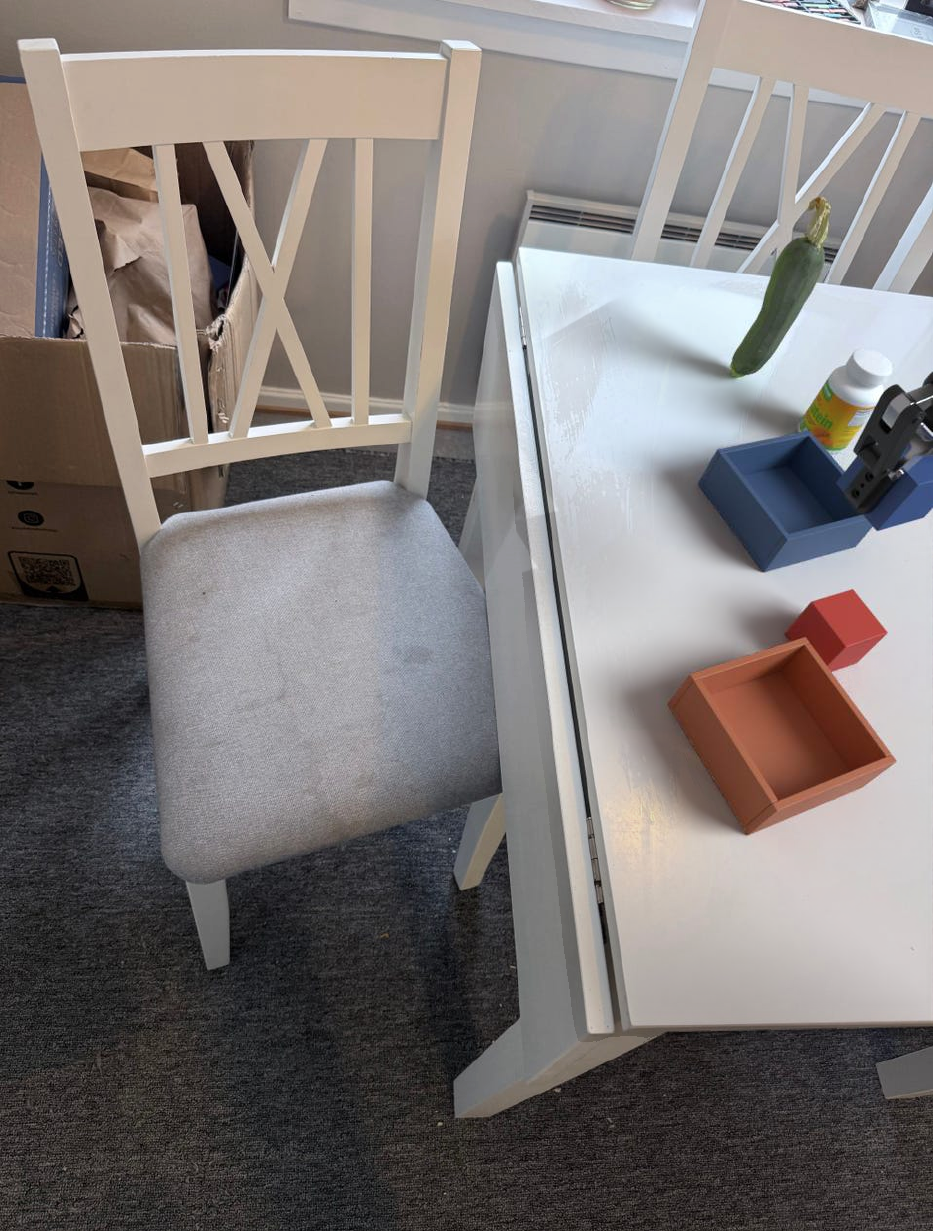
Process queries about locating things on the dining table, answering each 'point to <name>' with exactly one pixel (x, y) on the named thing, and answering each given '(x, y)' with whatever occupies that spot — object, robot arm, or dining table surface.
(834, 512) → the blue bin
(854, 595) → the red block
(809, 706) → the terracotta bin
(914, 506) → the blue block
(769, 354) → the vegetable
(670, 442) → the dining table surface
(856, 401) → the supplement bottle
